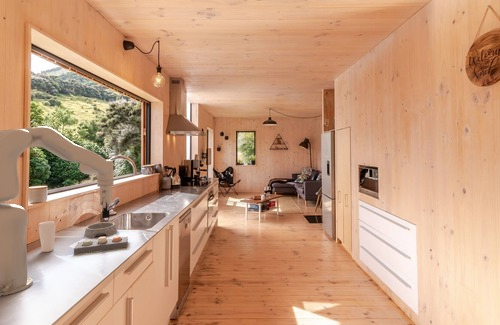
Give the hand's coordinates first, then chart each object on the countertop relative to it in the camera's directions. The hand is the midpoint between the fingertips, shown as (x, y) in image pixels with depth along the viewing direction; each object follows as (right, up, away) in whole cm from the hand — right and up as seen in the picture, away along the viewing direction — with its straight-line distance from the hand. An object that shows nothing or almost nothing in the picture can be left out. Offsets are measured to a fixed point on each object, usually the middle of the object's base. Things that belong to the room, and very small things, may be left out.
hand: (105, 217), depth 140 cm
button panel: (-3, -17, +2) cm, 17 cm away
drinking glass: (-29, -17, -2) cm, 34 cm away
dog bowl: (-19, -16, +29) cm, 38 cm away
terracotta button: (+4, -15, +4) cm, 16 cm away
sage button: (-9, -15, -1) cm, 18 cm away
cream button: (-3, -14, +2) cm, 14 cm away
